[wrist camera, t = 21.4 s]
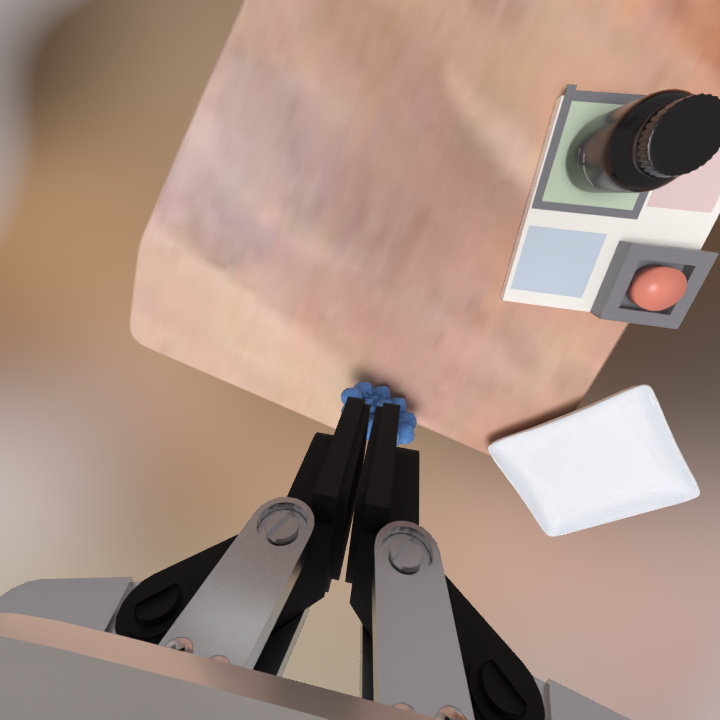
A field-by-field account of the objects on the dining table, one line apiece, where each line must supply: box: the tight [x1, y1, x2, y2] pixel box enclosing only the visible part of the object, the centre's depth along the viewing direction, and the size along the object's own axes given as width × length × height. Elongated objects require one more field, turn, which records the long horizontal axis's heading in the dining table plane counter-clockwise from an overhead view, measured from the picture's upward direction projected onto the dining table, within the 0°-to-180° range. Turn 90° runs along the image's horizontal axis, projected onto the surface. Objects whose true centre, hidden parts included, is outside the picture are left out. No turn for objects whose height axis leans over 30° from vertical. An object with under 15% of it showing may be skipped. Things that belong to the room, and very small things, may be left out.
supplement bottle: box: [567, 89, 720, 193], centre depth 28 cm, size 7×7×12 cm
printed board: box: [500, 84, 720, 312], centre depth 36 cm, size 21×18×2 cm
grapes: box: [341, 382, 417, 446], centre depth 46 cm, size 12×7×12 cm, turn 58°
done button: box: [626, 265, 687, 311], centre depth 36 cm, size 4×4×2 cm
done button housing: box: [590, 241, 718, 329], centre depth 37 cm, size 8×8×2 cm
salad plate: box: [488, 384, 700, 537], centre depth 49 cm, size 21×21×3 cm
